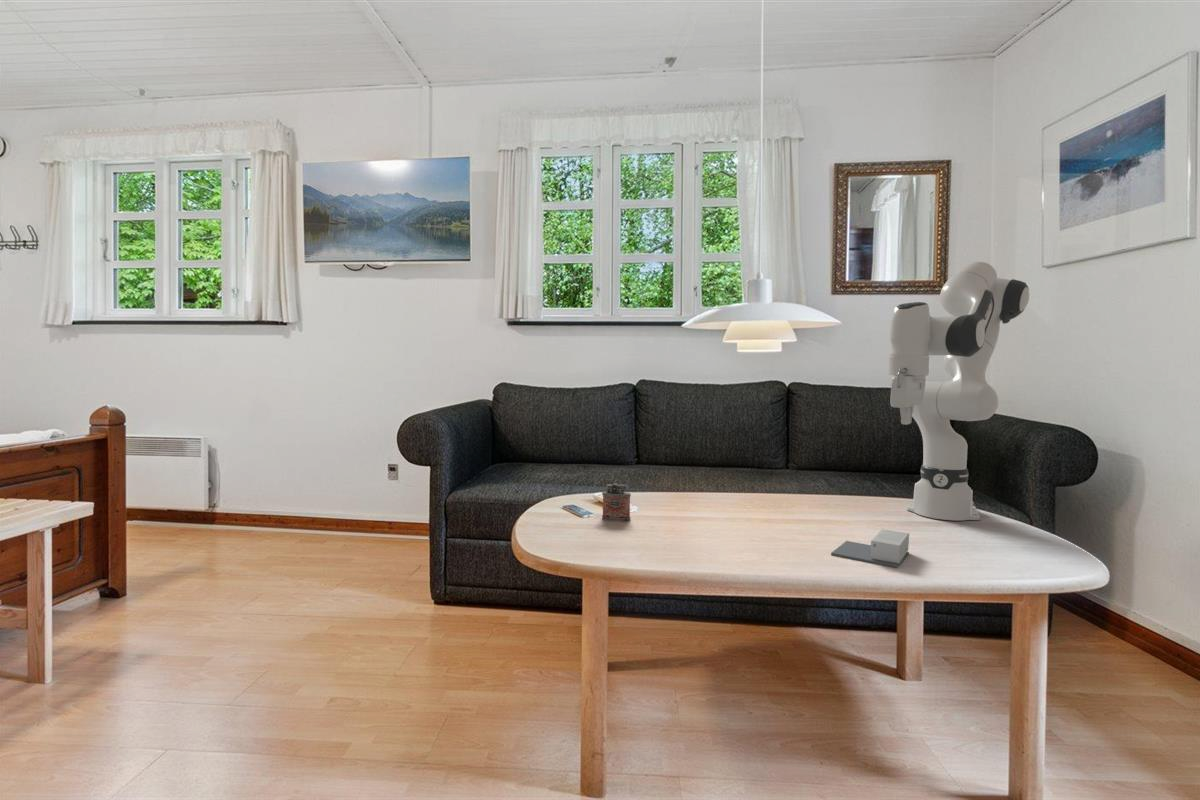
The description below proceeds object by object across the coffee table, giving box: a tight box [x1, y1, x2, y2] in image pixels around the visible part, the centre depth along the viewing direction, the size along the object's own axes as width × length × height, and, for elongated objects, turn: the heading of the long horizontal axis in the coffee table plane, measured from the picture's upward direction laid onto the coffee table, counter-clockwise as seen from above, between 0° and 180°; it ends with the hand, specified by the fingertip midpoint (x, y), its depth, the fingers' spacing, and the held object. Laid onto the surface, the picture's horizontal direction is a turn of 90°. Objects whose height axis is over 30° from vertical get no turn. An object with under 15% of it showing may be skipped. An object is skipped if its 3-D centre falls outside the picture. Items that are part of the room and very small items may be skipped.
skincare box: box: [870, 528, 910, 564], centre depth 139 cm, size 6×4×12 cm
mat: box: [830, 540, 910, 569], centre depth 141 cm, size 12×14×1 cm
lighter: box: [601, 483, 632, 522], centre depth 170 cm, size 8×3×10 cm, turn 73°
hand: (906, 424), depth 151 cm, fingers closed
